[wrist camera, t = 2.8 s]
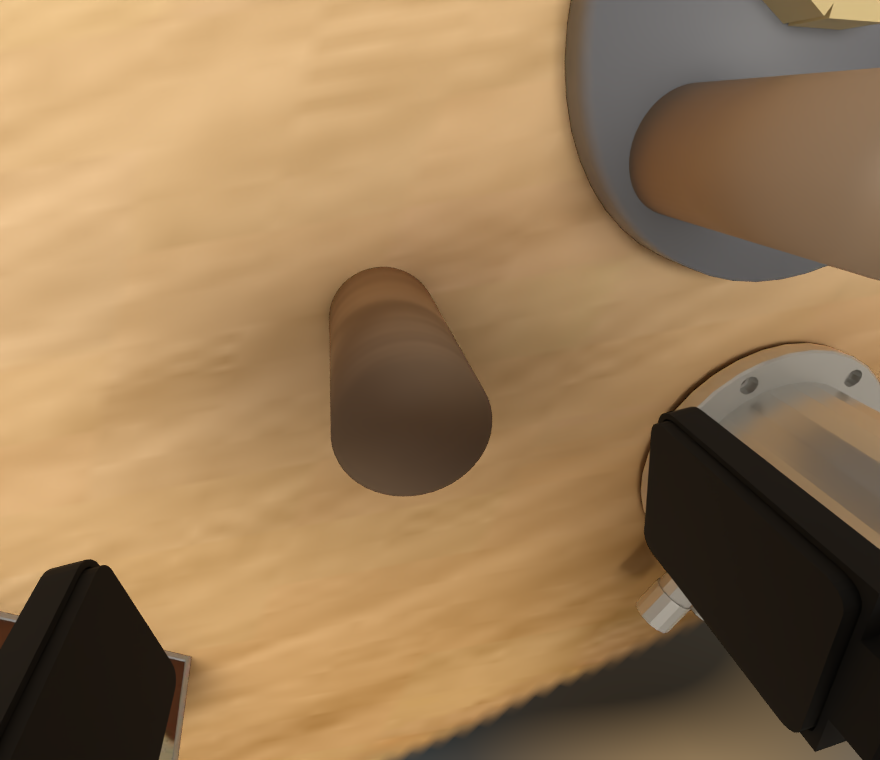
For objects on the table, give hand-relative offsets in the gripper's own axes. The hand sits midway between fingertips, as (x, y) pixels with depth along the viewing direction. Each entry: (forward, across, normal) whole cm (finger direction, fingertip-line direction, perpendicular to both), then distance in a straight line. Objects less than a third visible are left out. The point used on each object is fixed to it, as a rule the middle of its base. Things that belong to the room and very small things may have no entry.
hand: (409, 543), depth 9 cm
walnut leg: (+12, -1, +1) cm, 12 cm away
